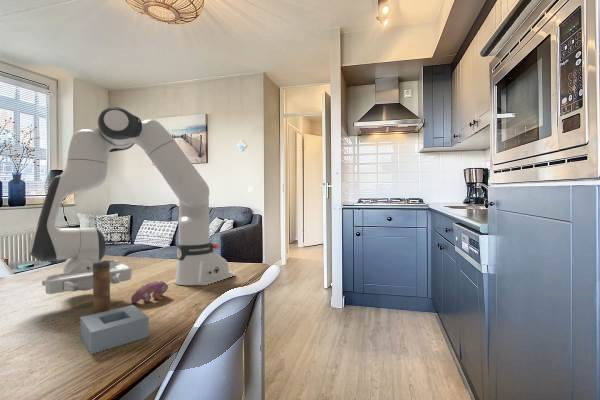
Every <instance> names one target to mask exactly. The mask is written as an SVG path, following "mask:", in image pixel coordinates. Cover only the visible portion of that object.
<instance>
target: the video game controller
mask: <svg viewBox="0 0 600 400" xmlns="http://www.w3.org/2000/svg"><path fill="white" fill-rule="evenodd" d="M168 289H169V285H168V283H166V282H165V281H163V280H160V281H150V282H148V283H147V284H144V285H141V286H140V287H139V288H138V289H136V291H135V292H134V293H133V294H132V295H131V297H130V300H131V303H132V304H136V303H138V302H139V301H141V300H142V301H143V302H144V303H147V302H149V301H151V299H152V298H153V299H154V300H157V299H159V298H160V297H161V296H162V295H163V294H164V293H166V292H167V291H168Z"/></svg>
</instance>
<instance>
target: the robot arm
mask: <svg viewBox="0 0 600 400" xmlns="http://www.w3.org/2000/svg"><path fill="white" fill-rule="evenodd" d="M97 126H98V127H97V128H95V129H81V130H77V131H75V132H74V133H73V134H72V136H71V139H70V142H69V147H68V151H67V160H66V165H65V168H64V170H63V171H62V172H61V173H60V174H58V175H56V176H54V177H53V178H52V180H51V182H50V185H49V188H48V190H47V193H46V195H45V198H44V200H43V206H42V209H41V211H40V214H39V218H38V222H37V225H36V228H35V230H34V232H33V234H32V236H31V238H30V240H29V244H28V250H29V251H28V252H29V255H30V256H31V257H33V259H36V260H37V261H40V262H42V263H44V262H52V261H58V260H65V262H64V264H63V265H62V273H58V274H52V275H49V276H47V277H46V279H45V280H42V281H41V284H42V286H44V287H45V293H46V294H47V295H53V294H58V293H59V294H60V293H65V292H71V293H72V292H76V291H77V292H78V291H81V292H82V291H85V292H87V291H91V290H93V264H94V263H97V262H110V284H112V285H116V284H120V282H121V283H122V282H126V281H130V280H132V278H133V277H132V275H133V273H132V268H131V267H130V265H127V264H125V263H122V262H121V263H120V261H119V260H118V259H116V260H115V259H112V260H111V259H110V260H102V259H103V258H104V256H105V254H106V253H105V252H106V245H107V244H106V238H105V235H104V234H103V233H102V232H101V231H100V229H98V228H97V227H57V226H56V222H57V218H58V215H59V212H60V208H61V205H62V203H63V201H64V200H65V199H66V198H67V197H69V196H72V195H74V194H79V193H82V192H86V191H90V190H93V189H97V188H98V187H100V186H101V185H102V184H104V182H105V181H106V179H107V175H108V166H109V164H108V163H109V155H110V154H109V153H113V152H121V151H126V150H130V148H132V147H133V146H134V145H138V146H139V147H140V148H141V149H142V150H143V151H144V153H145V154H146V155H147V157H148V158H149V160H150V161H151V162H152V164H153V165H154V167H155V168H156V169H157V170H158V171H159V173H160V175H161V176H162V177H163V179H164V180H165V181H166V183H167V184H168V186H169V187H170V189H171V190H172V192H173V193H174V195H175V196H176V197H177V199H178V200H179V201H178V203H179V204H178V205H179V206H178V243H177V246H176V248H177V250H176V254H177V255H176V256H177V268H176V273H175V277H174V281H173V283H174V284H175V285H180V286H209V285H212V284H215V283H214V282H216V283H218V282H217V281H219V282H221V281H220V280H222V281H224V280H223V279H226V278H229V277H232V276H235V277H236V273H235V272H234V271H232V270H230V267H229V263H228V260H227V259H225V258H224V257H222V256H220V254H218V252H217V253H216V252H215V250H218V248H219V244H218V243H215V242H214V243H212V242H210V206H209V205H210V201H209V200H210V199H209V198H210V188H209V185H208V184H207V182H206V181H205V179H204V178H203V177H202V175H201V174H200V172H199V171H198V170H197V169H196V167H195V166H194V164H193V163H192V162H191V160H190V159H189V158H188V156H187V155H186V153H184V151H183V149H182V148H181V147H180V145H179V144H178V142H177V141H176V140H175V139H174V137H173V136H172V135H171V133H170V132H169V131H168V130H167V129H166V128H165V127H164V126H163V125H162V124H161V123H160V122H159V121H157V120H155V119H146V120H144V121H142V120H141V119H140V117H138V116H136V115H134V114H132V113H131V112H129V111H128V110H126V109H125V108H121V107H118V106H110V107H107V108H105V109H103V110H102V111H101V112H100V114H99V116H98V118H97ZM232 278H233V277H232ZM229 279H230V278H229ZM226 280H227V279H226ZM211 283H212V284H211ZM208 284H209V285H208Z"/></svg>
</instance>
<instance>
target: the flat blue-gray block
mask: <svg viewBox="0 0 600 400" xmlns="http://www.w3.org/2000/svg"><path fill="white" fill-rule="evenodd" d="M149 321H150V320H149V315H147V314H145V313H144V312H143V311H142V310H140V309H139V308H137V306H136V305H134V304H132V305H128V306H124V307H118V308H114V309H110V310H109V311H105V312H101V313H96V314H89V315H83V316H81V317H80V339H81V340H82V342H83V343H84V345H85V347H86V349H87V350H88V352H89V351H90V352H89V354H90V353H91V354H90V355H94V354H93V353H95V354H97V353H96V352H98V353H100V352H99V351H101V352H104V351H107V350H106V349H108V350H111V349H113V347H114V348H117V347H120V346H123V345H126V344H129V343H132V342H137V341H139V340H143V339H146V338H148V337H150V332H149V331H150V330H149V329H150V327H149V323H150V322H149ZM116 346H117V347H116ZM110 348H111V349H110ZM103 350H104V351H103Z"/></svg>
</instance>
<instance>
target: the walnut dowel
mask: <svg viewBox="0 0 600 400" xmlns="http://www.w3.org/2000/svg"><path fill="white" fill-rule="evenodd" d="M92 297H93V298H92V299H93V301H92V303H93V304H92V305H93V307H92V308H93V314H96V313H101V312H105V311H109V310H111V283H110V262H97V263H94V264H93V289H92Z"/></svg>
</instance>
